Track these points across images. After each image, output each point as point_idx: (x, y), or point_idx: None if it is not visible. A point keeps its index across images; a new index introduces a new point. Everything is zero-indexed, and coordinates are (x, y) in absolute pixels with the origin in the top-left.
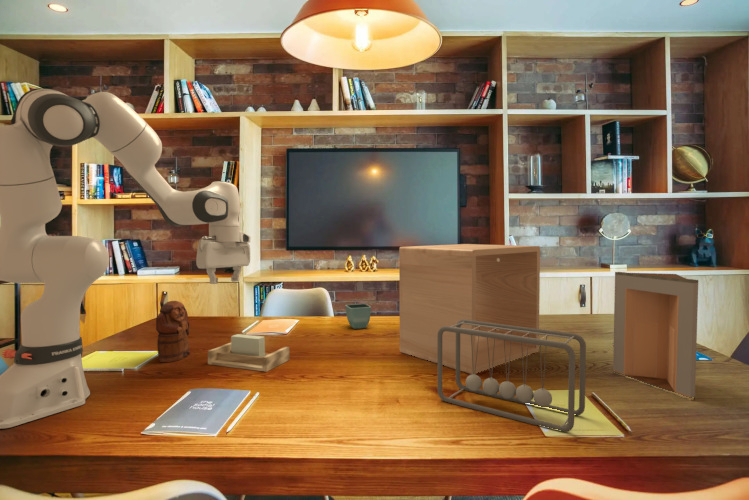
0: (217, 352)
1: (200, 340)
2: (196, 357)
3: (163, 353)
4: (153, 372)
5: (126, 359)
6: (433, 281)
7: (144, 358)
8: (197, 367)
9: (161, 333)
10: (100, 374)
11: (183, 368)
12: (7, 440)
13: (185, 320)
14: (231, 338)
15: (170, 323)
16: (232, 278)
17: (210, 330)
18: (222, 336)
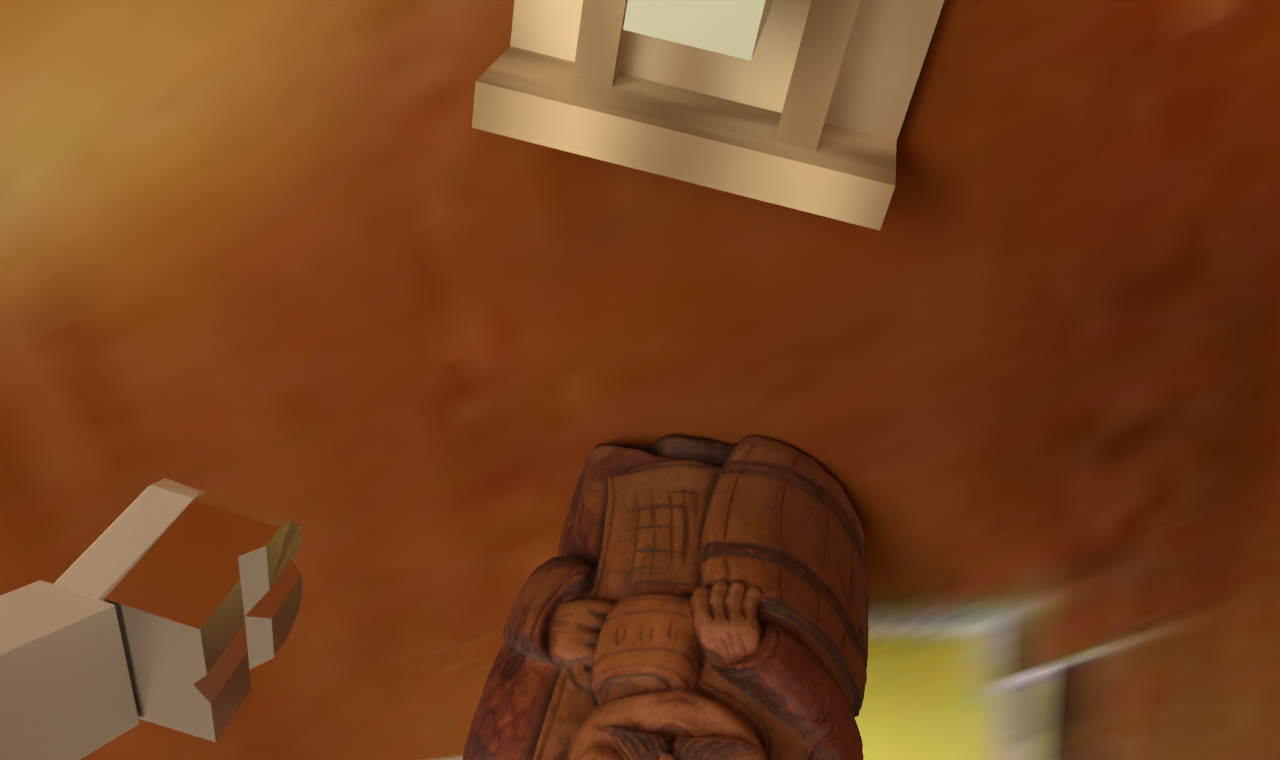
0: (810, 145)
1: (257, 508)
2: (692, 352)
3: (859, 567)
4: (1115, 483)
5: None
6: None
7: None
8: (985, 220)
9: (850, 711)
10: (1134, 741)
11: (1013, 320)
12: None
13: (561, 676)
14: (756, 44)
15: (786, 737)
16: (245, 649)
17: (4, 544)
18: (91, 404)
